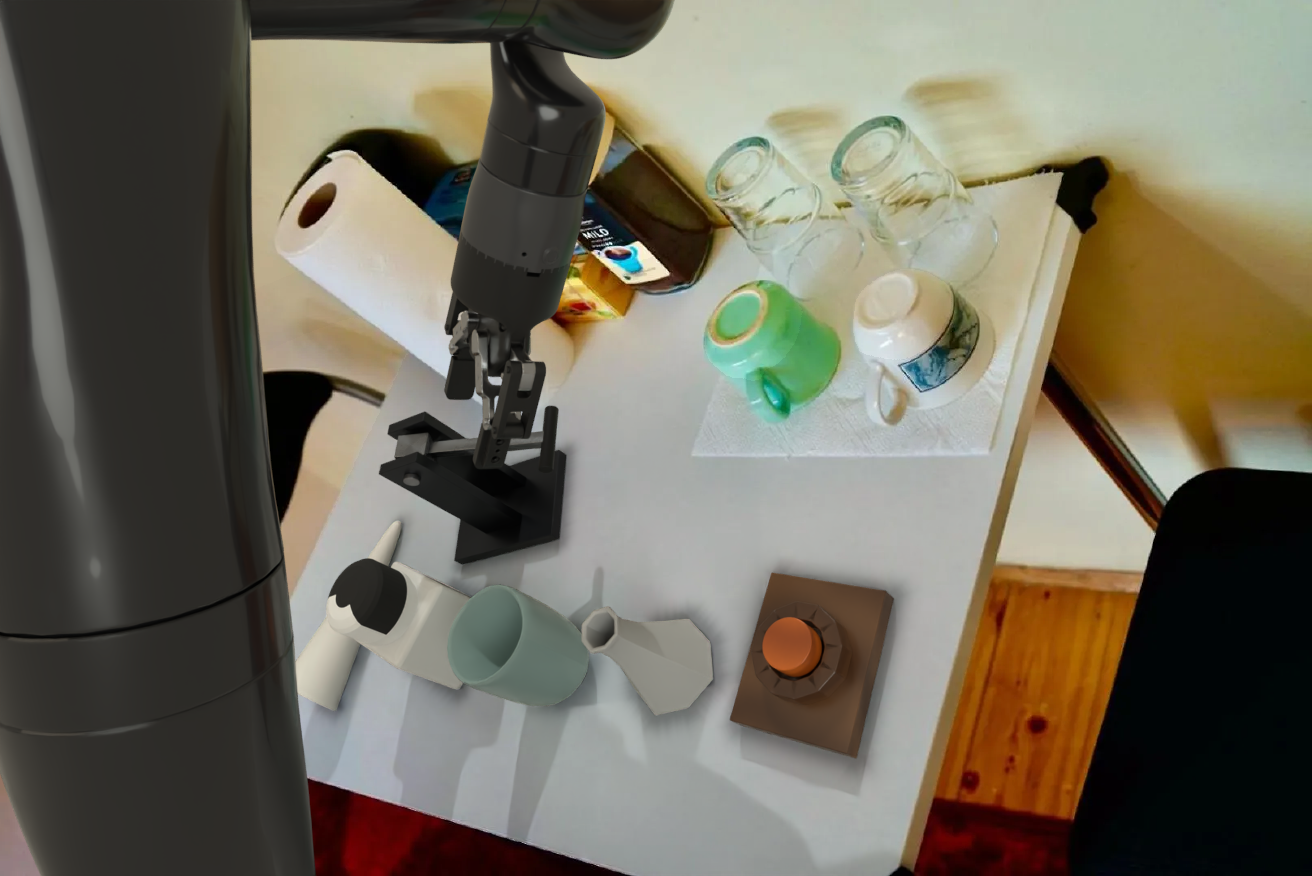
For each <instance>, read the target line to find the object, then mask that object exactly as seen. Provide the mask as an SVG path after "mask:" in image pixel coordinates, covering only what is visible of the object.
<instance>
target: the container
mask: <svg viewBox="0 0 1312 876" xmlns="http://www.w3.org/2000/svg"><path fill="white" fill-rule="evenodd" d="M471 597H472V596H470V595H468V594H467V593H464V592H463V591H461V590H459V589H457V588H455V587H453V586H451V585H449V584H446V583H445V582H442V581H440V580H438V579H436V578H434V577H432V576H430V575H427V574H425V573H423V572H421V571H419V570H416V569H414V568H413V567H411V566H408V565H407V564H404V563H402V562H400V561H394V562H392V564H391V566H390V565H389V566H387V565H384V564H382V563H380V562H378V561H376V560H374V559H370V558H368V557H365V558H362V559H359V560H356V561H354V562H351V564H349V565H347V567H345V568H344V569H343V570H342V571H341V572H340V573H339V575H338V576H337V578H336V579H335V581H334V583H333V584H332V587H331V588H330V591H329V593H328V596H327V601H326V605H325V606H326V607H325V612H326V616H327V619H328V622H329V625H330V627H331V628H332V629H333V630H334V631H335V632H337V633H340V634H342V635H345V636H348V637H350V638H353V639H354V640H355V641H357V642H358V643H360V646H363V647H364V648H366V649H367V650H369V651H370V652H372V653H373V654H375V655H376V656H378V657H379V658H381V659H382V660H384V661H385V662H386V663H388V664H389V665H391V666H392V667H393V668H395V669H397V670H400V671H403V672H405V673H408V674H410V675H414V676H416V677H419V678H422V679H425V680H427V681H430V682H434V683H436V684H438V685H441V686H444V687H446V688H447V687H448V688H450V689H453V690H461V688H462V686H463V684H464V683H463V682H462V681H460V680H459V679H458V678H457V677H456V675H455V674H454V673H453V670H452V668H451V666H450V663H449V659H448V652H447V643H448V636H449V632H450V628H451V626H452V623H453V621H454V619H455V618H456V616H457V614H458V612H459V611H460V610H461V608H462V607H463V606H464V605H465V604H466V602H467V601H468V600H469V599H470V598H471Z"/></svg>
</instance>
